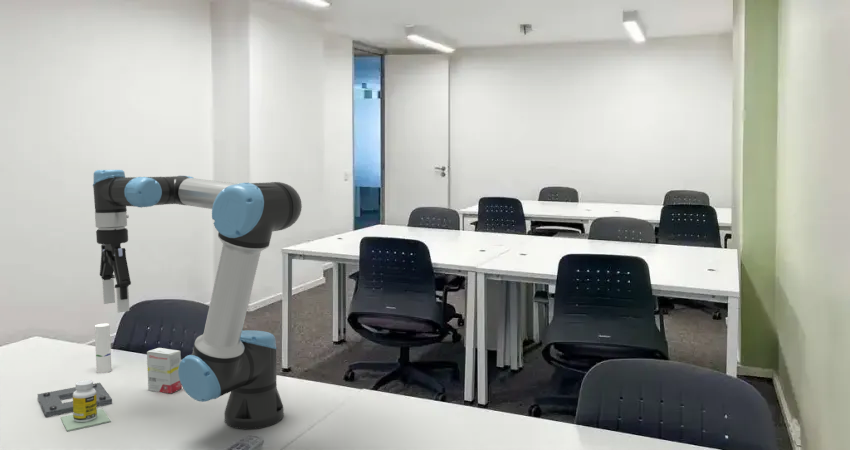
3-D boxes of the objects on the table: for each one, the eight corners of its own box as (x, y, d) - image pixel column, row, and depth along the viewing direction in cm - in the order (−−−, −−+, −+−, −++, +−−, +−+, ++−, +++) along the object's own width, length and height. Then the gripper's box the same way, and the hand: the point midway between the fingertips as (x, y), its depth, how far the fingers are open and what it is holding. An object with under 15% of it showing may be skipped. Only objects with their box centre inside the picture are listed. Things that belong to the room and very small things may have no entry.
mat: (110, 422, 166) (110, 420, 166) (67, 431, 160) (67, 430, 160) (102, 409, 174) (102, 408, 174) (60, 418, 168) (60, 417, 168)
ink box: (182, 388, 190) (181, 349, 189) (171, 394, 186) (169, 354, 184) (159, 384, 193) (158, 346, 192) (147, 390, 189) (146, 351, 187)
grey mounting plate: (112, 403, 178) (111, 397, 178) (45, 417, 168) (45, 410, 168) (100, 387, 191) (99, 381, 190) (37, 398, 181) (37, 392, 181)
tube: (96, 369, 206) (94, 324, 204) (111, 368, 208) (109, 322, 206) (96, 373, 202) (94, 327, 200) (111, 372, 204) (109, 326, 202)
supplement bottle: (87, 423, 164) (85, 386, 163) (68, 421, 165) (67, 385, 164) (101, 415, 169) (100, 379, 168) (83, 413, 170) (82, 377, 169)
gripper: (141, 230, 162) (145, 313, 164) (114, 224, 181) (118, 298, 183) (109, 232, 157) (113, 317, 159) (84, 225, 176) (89, 301, 178)
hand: (116, 307), depth 171 cm, fingers open, 13 cm apart
